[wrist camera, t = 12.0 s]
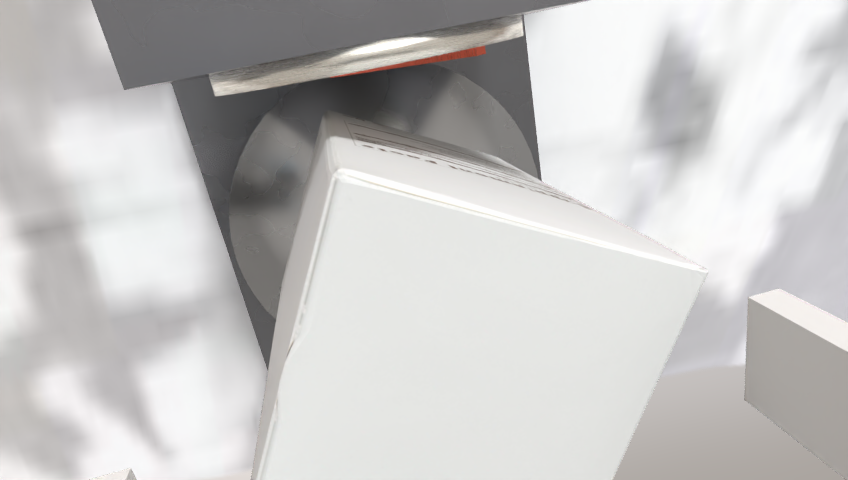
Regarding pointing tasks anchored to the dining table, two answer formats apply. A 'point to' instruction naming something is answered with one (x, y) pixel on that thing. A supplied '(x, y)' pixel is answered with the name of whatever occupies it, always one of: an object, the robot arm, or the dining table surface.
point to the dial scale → (321, 96)
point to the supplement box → (459, 320)
